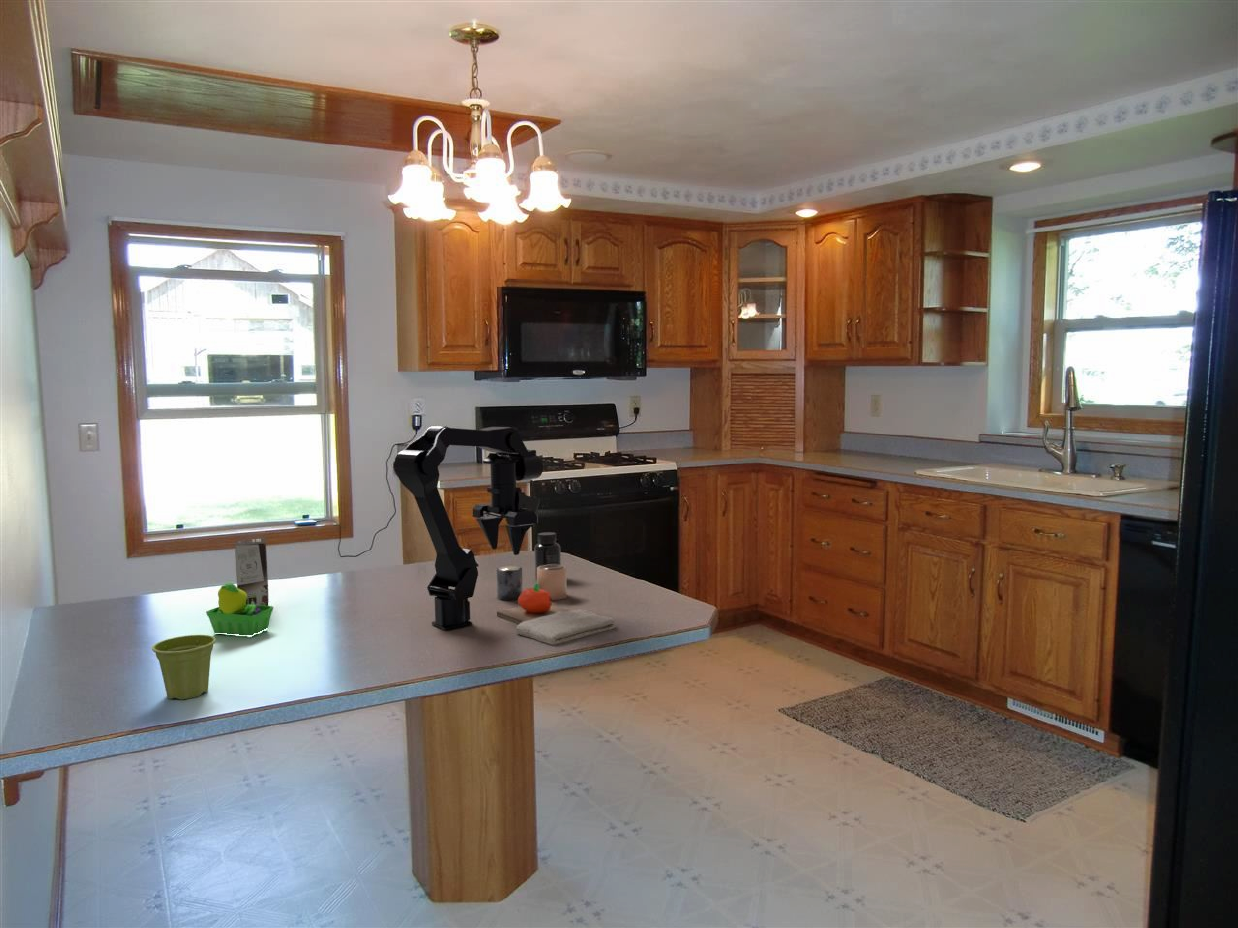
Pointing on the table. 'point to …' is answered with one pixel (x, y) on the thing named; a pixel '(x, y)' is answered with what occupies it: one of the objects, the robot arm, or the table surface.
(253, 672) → the table surface
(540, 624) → the washcloth
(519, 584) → the black metal can
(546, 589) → the terracotta cup
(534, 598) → the pumpkin
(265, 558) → the coffee box
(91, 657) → the table surface
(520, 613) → the walnut board
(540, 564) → the supplement bottle
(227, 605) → the fruit basket
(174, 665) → the plant pot
